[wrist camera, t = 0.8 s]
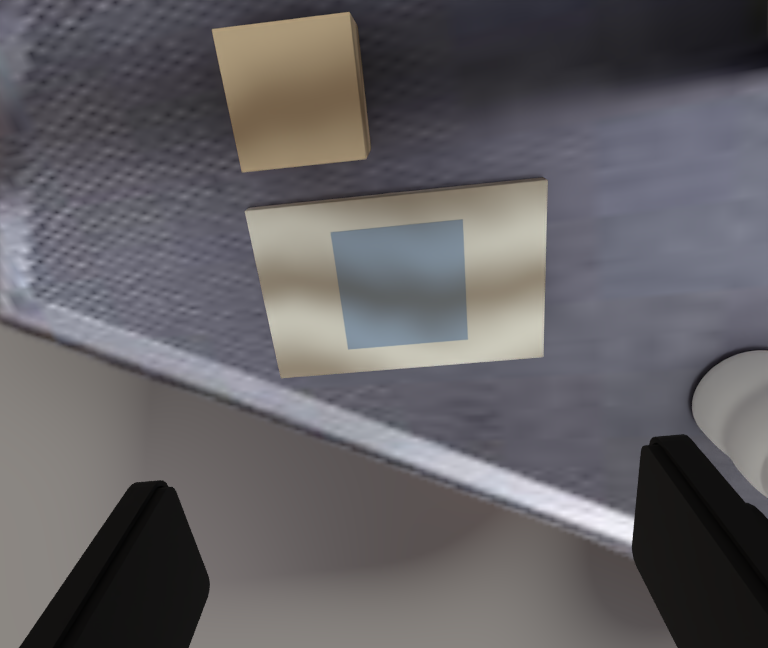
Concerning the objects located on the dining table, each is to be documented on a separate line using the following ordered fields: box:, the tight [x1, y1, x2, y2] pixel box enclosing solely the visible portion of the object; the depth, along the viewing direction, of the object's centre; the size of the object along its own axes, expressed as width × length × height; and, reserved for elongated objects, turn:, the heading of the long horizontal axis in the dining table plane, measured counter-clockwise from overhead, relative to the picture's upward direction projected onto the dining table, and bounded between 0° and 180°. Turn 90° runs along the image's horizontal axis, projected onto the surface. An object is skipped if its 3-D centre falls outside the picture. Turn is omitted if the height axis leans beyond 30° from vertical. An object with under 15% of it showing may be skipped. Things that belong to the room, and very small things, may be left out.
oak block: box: [212, 12, 371, 172], centre depth 25 cm, size 6×6×5 cm
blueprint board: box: [245, 177, 548, 378], centre depth 31 cm, size 11×17×1 cm, turn 96°
